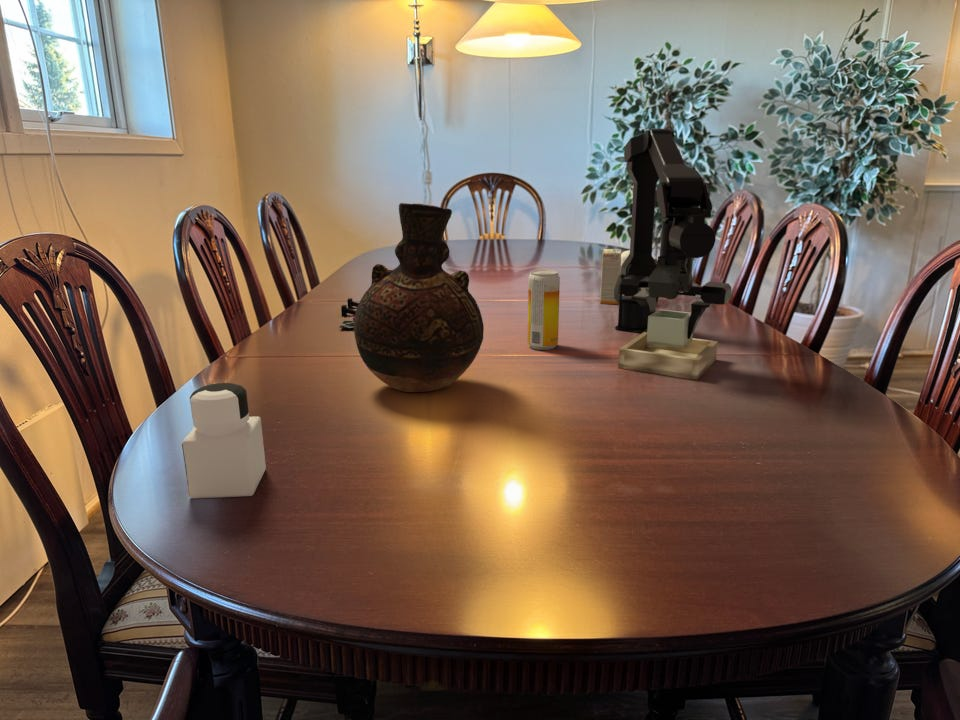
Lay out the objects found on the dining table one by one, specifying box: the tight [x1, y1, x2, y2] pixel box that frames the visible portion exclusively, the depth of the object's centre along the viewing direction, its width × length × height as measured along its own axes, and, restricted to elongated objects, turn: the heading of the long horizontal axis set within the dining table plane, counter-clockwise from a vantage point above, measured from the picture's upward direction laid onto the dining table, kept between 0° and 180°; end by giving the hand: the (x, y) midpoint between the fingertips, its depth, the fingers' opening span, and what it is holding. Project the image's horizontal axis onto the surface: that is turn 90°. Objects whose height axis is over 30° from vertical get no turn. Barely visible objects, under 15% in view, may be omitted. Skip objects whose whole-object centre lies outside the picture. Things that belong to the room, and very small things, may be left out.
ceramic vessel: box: [353, 202, 485, 393], centre depth 110 cm, size 21×18×30 cm
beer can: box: [527, 269, 561, 351], centre depth 135 cm, size 6×6×15 cm
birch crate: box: [617, 331, 719, 381], centre depth 125 cm, size 14×14×4 cm
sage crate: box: [646, 308, 694, 348], centre depth 123 cm, size 6×6×5 cm
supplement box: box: [599, 248, 622, 305], centre depth 176 cm, size 8×5×13 cm, turn 168°
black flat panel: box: [338, 297, 359, 329], centre depth 164 cm, size 30×3×15 cm
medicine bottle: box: [181, 382, 267, 499], centre depth 79 cm, size 7×7×12 cm
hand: (670, 336), depth 124 cm, fingers closed on sage crate, 6 cm apart
